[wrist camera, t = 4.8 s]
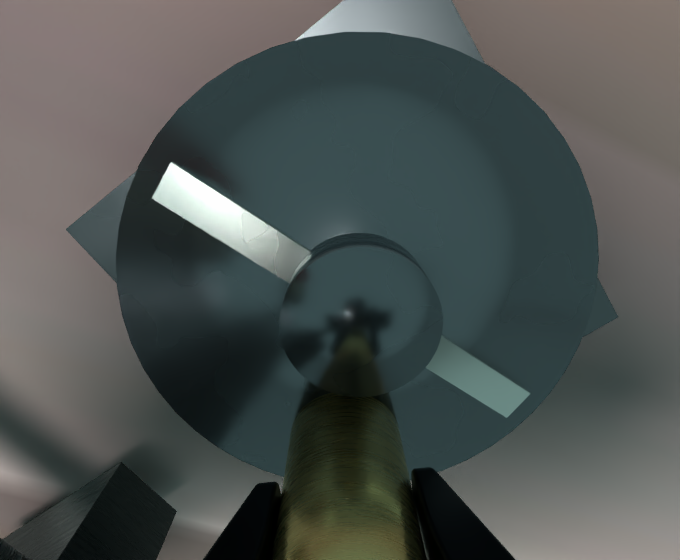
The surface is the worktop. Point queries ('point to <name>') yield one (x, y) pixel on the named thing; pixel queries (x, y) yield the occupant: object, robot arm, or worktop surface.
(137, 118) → the worktop surface
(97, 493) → the block-headed metal hammer
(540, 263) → the handwheel
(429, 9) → the wheel base
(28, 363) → the worktop surface
